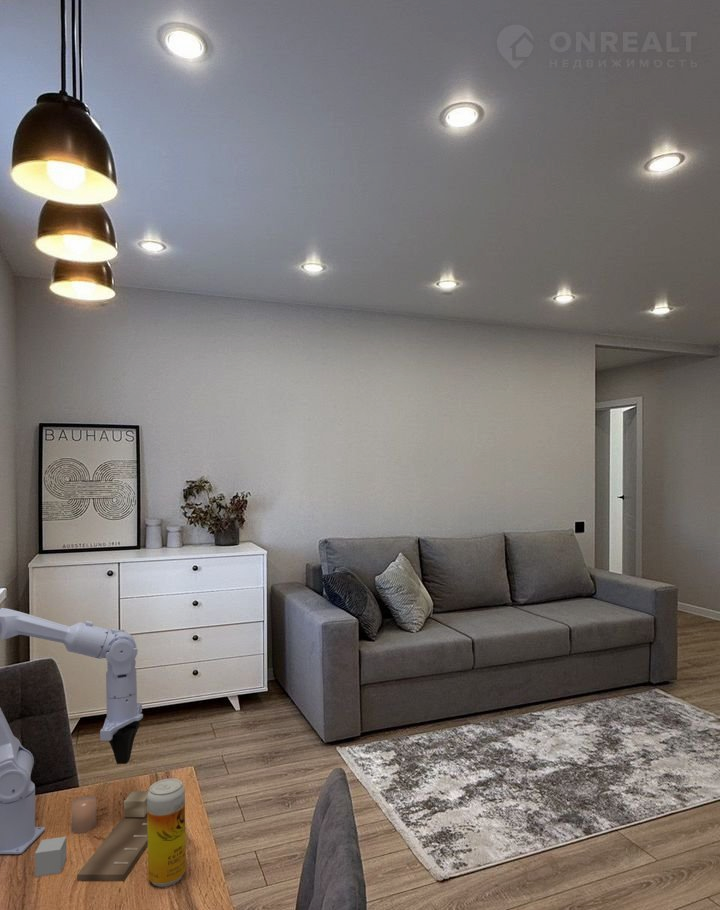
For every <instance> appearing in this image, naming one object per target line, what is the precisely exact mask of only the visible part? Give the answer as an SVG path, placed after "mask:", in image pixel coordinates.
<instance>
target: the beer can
mask: <svg viewBox="0 0 720 910" xmlns="http://www.w3.org/2000/svg"><path fill="white" fill-rule="evenodd" d="M148 791H149V792H148V794H147V831H148V845H147V877H148V880H149V881H150V883H151V884H152V885H154V886H156V887H161V888H164V887H171V886H173V885H174V884H176V883H178V882H179V881H180V880H181V879H182V877H183V875H184V874H185V873H186V870H187V857H186V856H187V852H186V850H187V848H186V845H187V844H186V793H185V792H186V789H185V787H184V785H183V782H182V780H180V779H178V778H175V777H174V778H171V777H170V778H164V779H161V780H157V781H155V782H154V783H152V784H151V785H150V787H149V790H148Z"/></svg>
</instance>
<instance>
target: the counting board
mask: <svg viewBox="0 0 720 910" xmlns="http://www.w3.org/2000/svg"><path fill="white" fill-rule="evenodd" d="M146 848H148V831H147V814H146V815H145V817H124V815H123V816H122V818H121V819H120V820H119V821H118V822H117V824H116V825H115V826H114V828H113V829H112V830H111V832H110V833H109V834H107V837H106V838H105V839H104V840H103V841H102V843H101V844H100V845H99V847H98V848H97V849H96V850H95V852H94V853H93V854H92V855H91V856H90V857H89V859H88V860H87V862H86V863H85V864H84V866H83V867H82V868H81V869H80V871H78V873H77V874H76V878H77V879H76V881H79V882H80V881H81V882H88V881H89V882H91V881H94V882H101V881H103V882H107V881H109V882H113V881H114V882H118V881H119V882H124V881H125V880H126V879H127V877H128V875H129V873H130V872H131V871H132V869H133V868H134V866H135V865H136V864H137V861H138V860H139V859H140V858H141V855H142V854H143V853H144V852H145V850H146Z"/></svg>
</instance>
